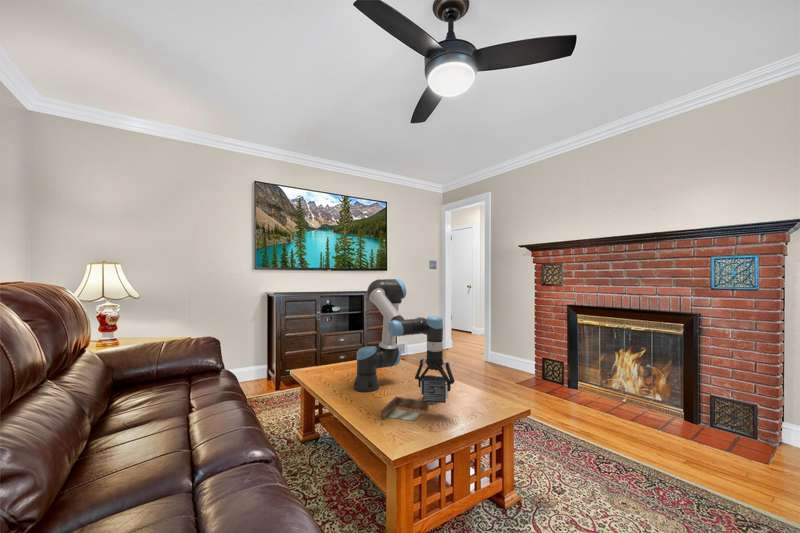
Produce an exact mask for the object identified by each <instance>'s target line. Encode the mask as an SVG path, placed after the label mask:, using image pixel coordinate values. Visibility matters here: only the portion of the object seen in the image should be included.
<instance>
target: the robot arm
mask: <svg viewBox="0 0 800 533" xmlns="http://www.w3.org/2000/svg"><path fill="white" fill-rule="evenodd" d="M366 295H367V297H368V300H369V301H370V303H372V304H374V305H375V306H376V308H377V309H378V310H379V312H380V313H381V315H382V317H383V321H382V336H381V341H380V342H379V343H378V348H377V347H376V346H373V345H370V346H363V347H361V348H358V350H357V352H356V376H355V379H354V382H353V389H354V391H357V392H362V393H368V392H369V393H370V392H375V391H377V390H379V389H380V381H379V378H378V374H377V370H378V369H384V368H392V367H395V366H397V365H399V364H400V362H401V359H402V350H401V348H400V347H399V345H398V343H397V337H403V336H413V335H425V336H426V359H424V358H421V359H419V366H418V369H417V370H416V372H415V373H416V374H415V376H414V380H417V381H418V387H419V388H420V391H419V393H420V394H419V395H420V396H423V380H422V378H423V377H424V376H426V375H427V373H428V372H429V371H433V370H434V371H438V372H439V373H440V374H441V376H443V378H444V379H445V380H446V400H448V399H449V392H450V391H451V385H453V384H455V378H454V375H453V373H452V368H451V367H450V361H444V358H443V354H444V353H443V352H444V351H443V349H444V342H443V341H444V337H443V336H444V321H443V320H444V319H443V318H442V317H441V316H437V315H436V316H435V315H434V316H428V317H427V318H425V317H419V316H418V317H417V316H416V317H415V318H410V319H405V318H404V316H402V314H401V313H400V312H399V308H400V306H399V305H400V304H402V301H403V299H405V298H406V296H407V288H406V285H405V283H404V281H403V280H401V279H399V278H398V279H397V278H387V279H386V278H385V279H381V278H380V279H375V280H373V281H372V282H371V283H370V284H369V285H368V287H367V290H366ZM425 363H426V365H427V367H426V368H425V369H424V371H423V372H422V373H421V371H422V369H423V366H424V365H425ZM443 366H444V368H445V370H446V372H447V373H446V372H445V370H444V368H443ZM420 374H421V375H420Z"/></svg>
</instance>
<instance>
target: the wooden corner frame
mask: <svg viewBox="0 0 800 533" xmlns="http://www.w3.org/2000/svg"><path fill="white" fill-rule="evenodd" d="M429 404H430V403H429V402H423V399H416V398H409V397H402V396H401V397H400V396H395V397H394V398H392V399H391V401H389V402H388V403H387V404H386V405H385V406H384V407H383V408H382V409H381V410H380V411H381V412H380V416H381V417H380V418H381V420H386V418H392V419H398V420H404V421H409V422H415V421H417V419H418V418H419V416H420V415H421V412H417V411H416V412H415V411H410V410H403V409H396V408H397V407H401V408H403V407H404V408H411V409H416V410H417V409H418V410H423V411H429V409H430V408H429Z"/></svg>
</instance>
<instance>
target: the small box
mask: <svg viewBox="0 0 800 533" xmlns="http://www.w3.org/2000/svg"><path fill="white" fill-rule="evenodd" d="M422 400H423V402H435V403H439V404H440V403H442V404H446V402H447V401H446V400H447V399H446V380H445V379H444V378H443V376H442V375H441V376H440V375H439V376H437V375H432V376H428V375H425V376H424V377H423V395H422Z"/></svg>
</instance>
